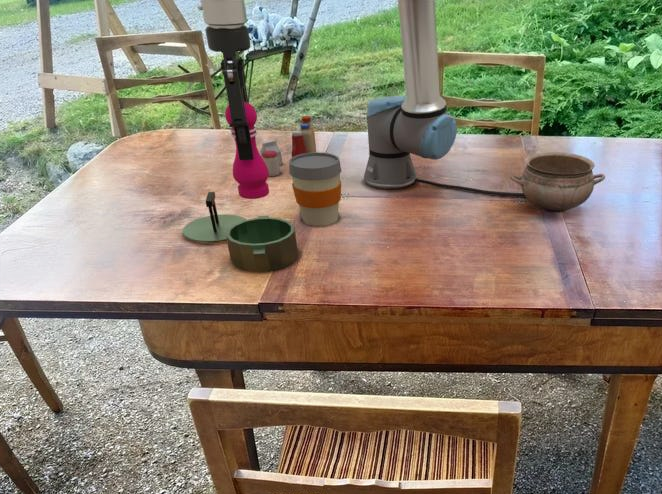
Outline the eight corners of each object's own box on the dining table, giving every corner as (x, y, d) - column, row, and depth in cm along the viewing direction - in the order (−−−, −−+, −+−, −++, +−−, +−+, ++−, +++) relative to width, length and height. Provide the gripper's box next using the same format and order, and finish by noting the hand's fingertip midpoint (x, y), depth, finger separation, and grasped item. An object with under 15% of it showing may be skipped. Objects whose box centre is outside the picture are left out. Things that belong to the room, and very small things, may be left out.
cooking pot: (513, 223, 154) (518, 175, 146) (502, 195, 169) (505, 151, 162) (609, 221, 155) (619, 174, 148) (589, 194, 170) (597, 150, 163)
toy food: (310, 152, 198) (306, 113, 191) (334, 161, 191) (331, 121, 184) (238, 170, 183) (230, 129, 176) (261, 181, 176) (254, 139, 169)
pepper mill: (241, 202, 124) (222, 99, 112) (233, 190, 129) (214, 90, 117) (275, 196, 127) (260, 95, 115) (266, 185, 132) (251, 87, 120)
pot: (297, 236, 146) (294, 211, 142) (297, 275, 130) (294, 247, 126) (235, 240, 143) (230, 214, 140) (227, 280, 127) (221, 252, 124)
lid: (252, 217, 155) (246, 183, 149) (248, 243, 142) (241, 207, 137) (188, 220, 152) (180, 186, 147) (179, 247, 140) (169, 211, 135)
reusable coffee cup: (286, 224, 151) (277, 164, 142) (310, 206, 161) (304, 149, 152) (330, 232, 148) (325, 171, 139) (353, 213, 157) (349, 155, 149)
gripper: (210, 18, 116) (232, 142, 130) (198, 33, 101) (224, 170, 115) (250, 18, 117) (268, 140, 131) (244, 32, 103) (264, 168, 116)
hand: (247, 154), depth 123 cm, fingers closed on pepper mill, 5 cm apart
